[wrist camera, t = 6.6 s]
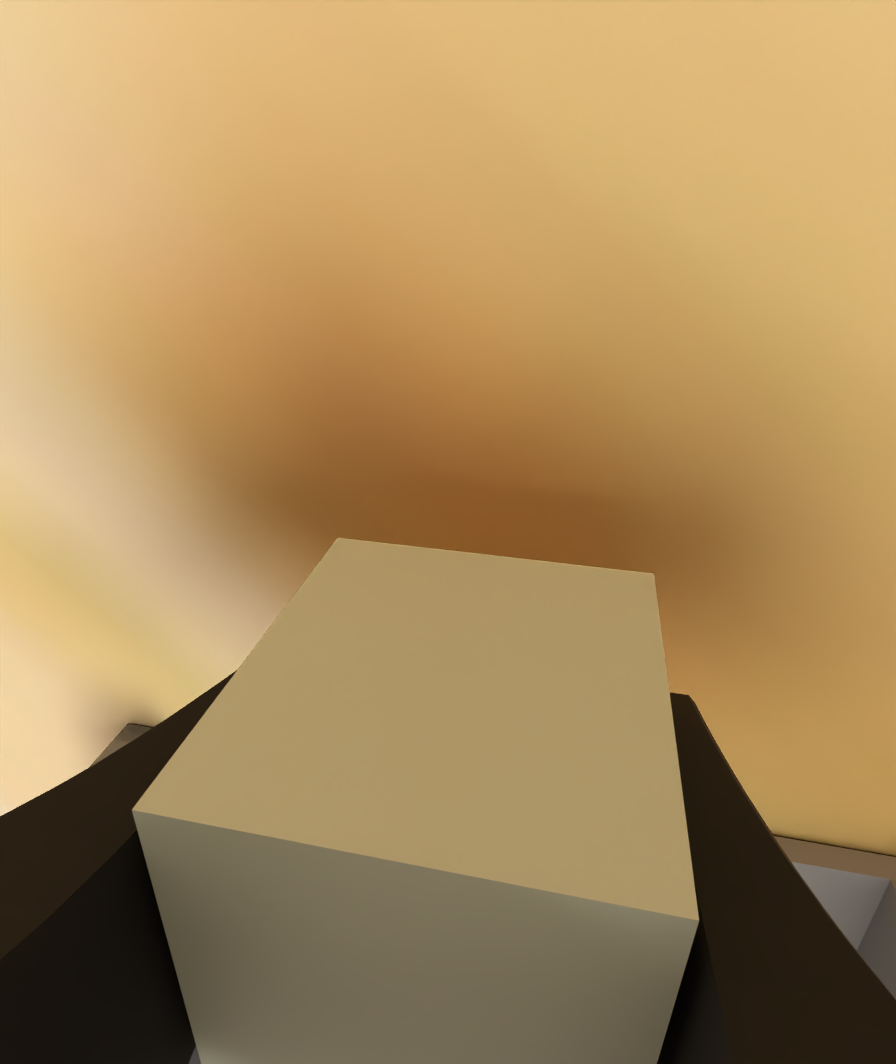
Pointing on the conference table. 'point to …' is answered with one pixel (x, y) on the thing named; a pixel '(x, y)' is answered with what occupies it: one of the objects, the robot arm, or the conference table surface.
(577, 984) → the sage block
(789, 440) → the conference table surface
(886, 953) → the open box
